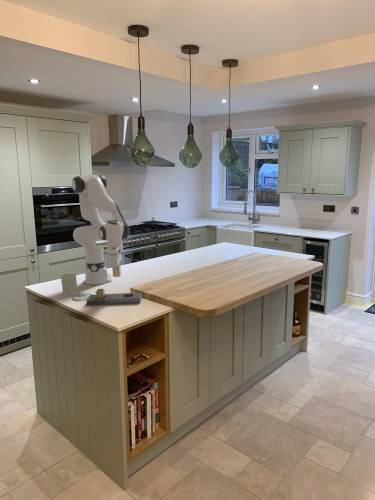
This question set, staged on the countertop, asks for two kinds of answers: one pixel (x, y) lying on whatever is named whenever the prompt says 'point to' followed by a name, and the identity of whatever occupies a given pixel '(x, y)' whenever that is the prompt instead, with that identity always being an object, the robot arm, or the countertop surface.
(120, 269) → the wooden post chunk
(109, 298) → the grey peg hole board
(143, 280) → the countertop surface
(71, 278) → the glass tumbler
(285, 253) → the countertop surface
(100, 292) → the tan square peg
